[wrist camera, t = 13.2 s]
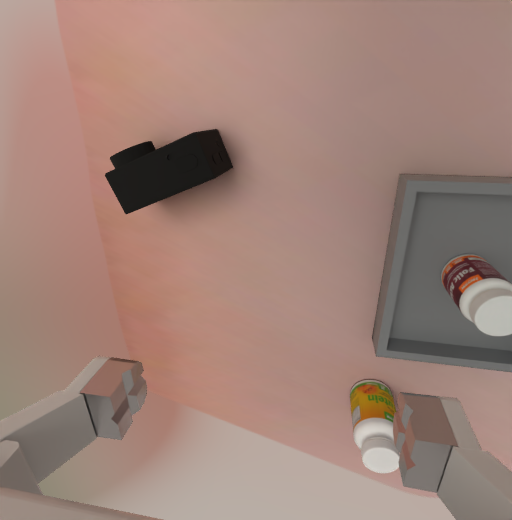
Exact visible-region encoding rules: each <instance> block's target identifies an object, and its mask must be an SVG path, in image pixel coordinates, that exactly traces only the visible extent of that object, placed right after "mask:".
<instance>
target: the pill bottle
mask: <svg viewBox="0 0 512 520" xmlns="http://www.w3.org/2000/svg"><path fill="white" fill-rule="evenodd" d="M441 281H442V284H443V286H444V287H445V289H446V290H447V292H448V293H449V295H450V296H451V298H452V299H453V301H454V302H455V304H456V305H457V307H458V308H459V310H460V311H461V313H462V314H463V315H464V317H466V318H467V319H468V320H470V321H471V322H473V323H474V324H475V325H476V326H477V328H478V329H479V330H480V331H482V332H483V333H485V334H488V335H491V336H506V335H510V334H512V284H511V283H510V282H509V281H508V280H507V279H506V278H504V277H503V276H502V275H501V274H500V273H499V272H498V271H497V270H496V269H495V268H494V267H493V266H491V265H490V264H489V263H488V262H487V261H486V260H485V259H483V258H482V257H480V256H477V255H473V254H465V255H460V256H457V257H455V258H453V259H451V260H450V261H449V262H448V263H447V264H446V265H445V266H444V268H443V270H442V272H441Z"/></svg>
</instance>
